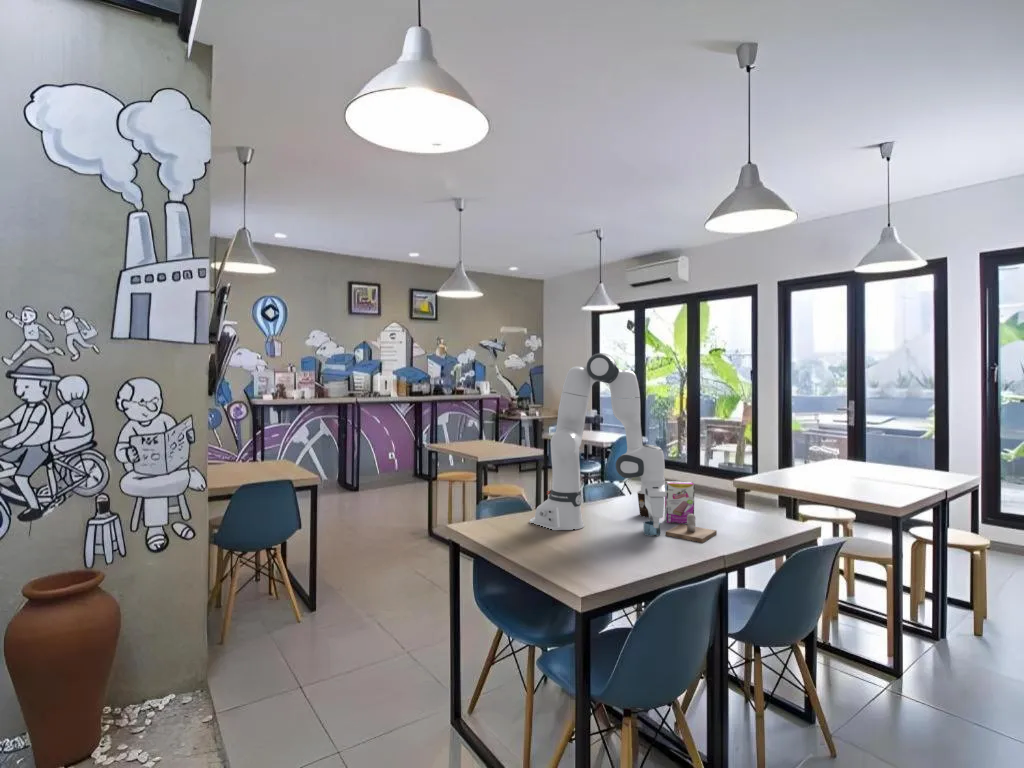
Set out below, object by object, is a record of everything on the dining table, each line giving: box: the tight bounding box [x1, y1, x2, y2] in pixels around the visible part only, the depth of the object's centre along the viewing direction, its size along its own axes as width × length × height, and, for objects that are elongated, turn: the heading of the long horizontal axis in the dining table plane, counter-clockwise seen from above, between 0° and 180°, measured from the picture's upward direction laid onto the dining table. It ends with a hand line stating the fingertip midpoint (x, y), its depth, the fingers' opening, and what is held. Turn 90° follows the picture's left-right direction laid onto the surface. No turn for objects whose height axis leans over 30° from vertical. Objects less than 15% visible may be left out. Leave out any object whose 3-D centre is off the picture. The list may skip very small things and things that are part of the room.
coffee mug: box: [637, 489, 649, 518], centre depth 230 cm, size 12×9×10 cm
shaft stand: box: [665, 513, 718, 544], centre depth 201 cm, size 14×14×8 cm
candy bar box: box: [664, 480, 696, 524], centre depth 220 cm, size 11×5×16 cm, turn 84°
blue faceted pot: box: [642, 520, 662, 537], centre depth 203 cm, size 6×6×4 cm
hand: (653, 524), depth 203 cm, fingers open, 8 cm apart
